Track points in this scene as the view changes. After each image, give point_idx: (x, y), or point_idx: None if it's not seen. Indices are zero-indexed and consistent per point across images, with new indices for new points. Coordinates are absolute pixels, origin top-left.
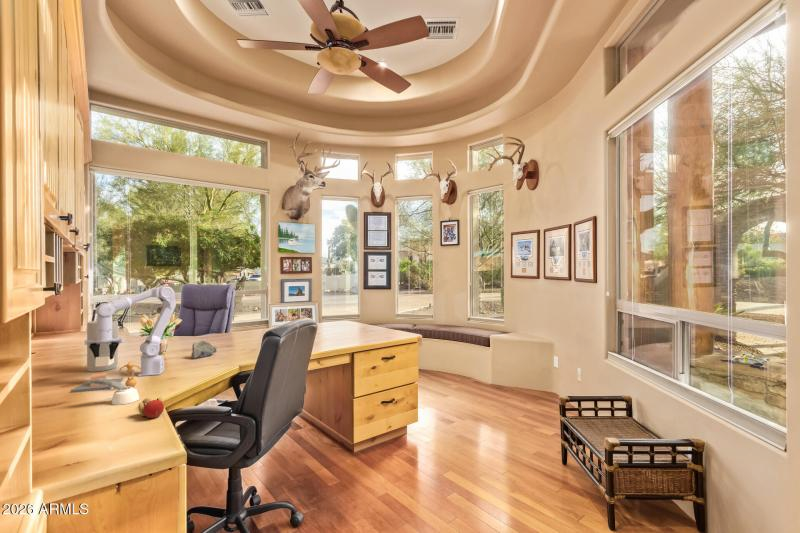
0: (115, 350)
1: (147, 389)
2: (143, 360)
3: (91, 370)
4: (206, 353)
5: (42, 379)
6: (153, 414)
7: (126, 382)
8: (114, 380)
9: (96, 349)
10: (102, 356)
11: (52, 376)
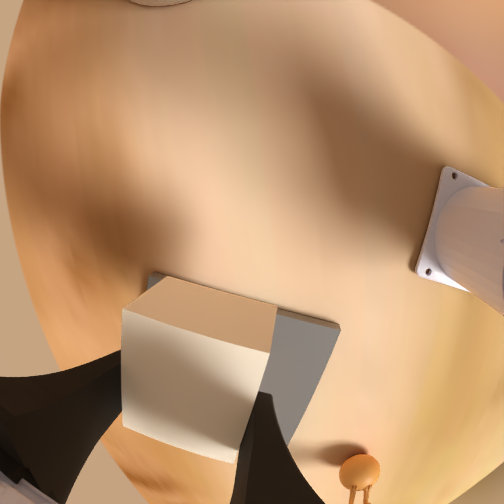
0: (288, 459)
1: (396, 486)
2: (495, 304)
3: (135, 2)
4: None
5: (6, 92)
6: None
7: (343, 484)
8: (294, 362)
9: (74, 456)
10: (164, 411)
11: (26, 51)
